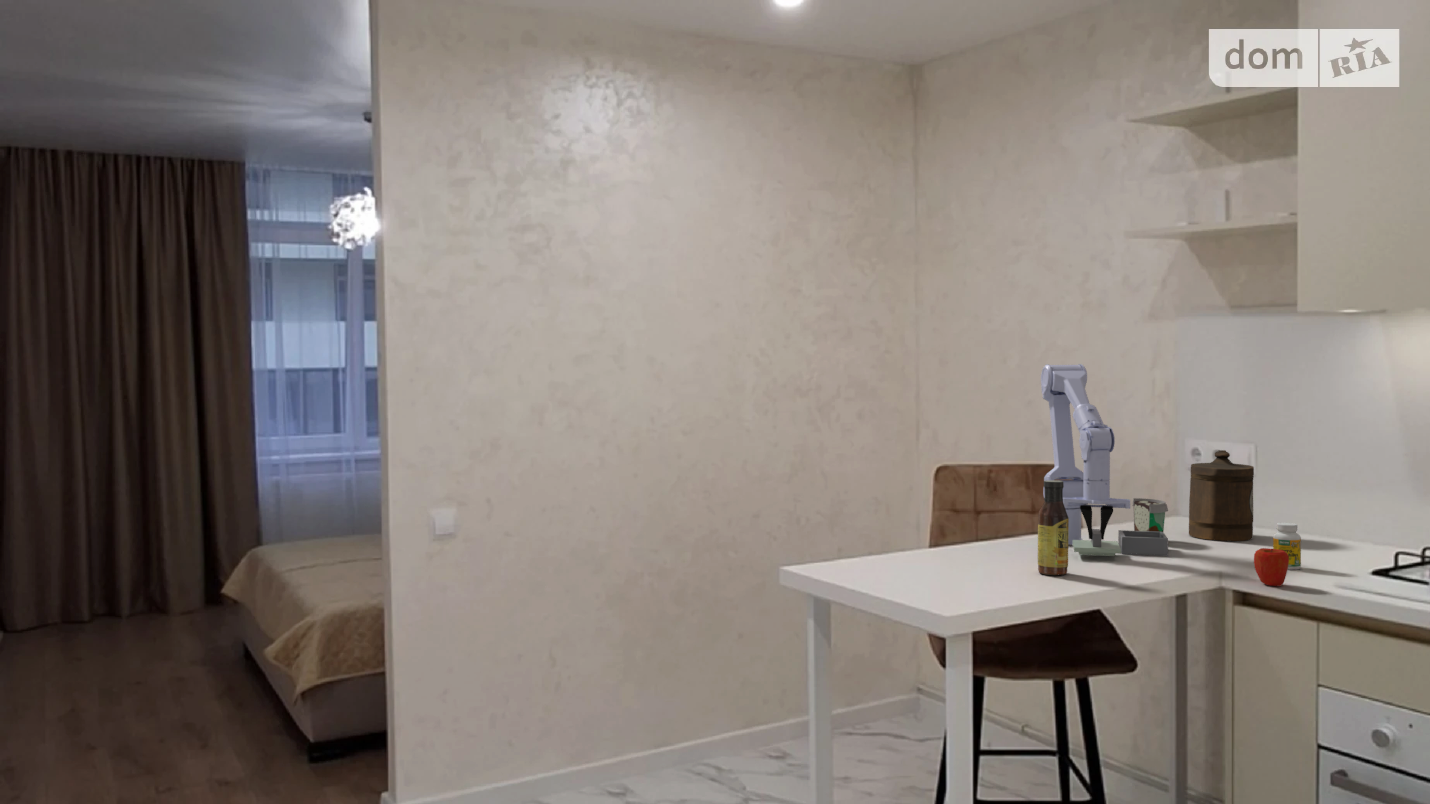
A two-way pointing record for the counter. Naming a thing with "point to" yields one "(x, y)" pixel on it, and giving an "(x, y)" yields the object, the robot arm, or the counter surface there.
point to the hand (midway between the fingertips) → (1096, 538)
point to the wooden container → (1221, 500)
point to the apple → (1271, 566)
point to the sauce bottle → (1053, 531)
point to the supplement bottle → (1289, 543)
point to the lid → (1096, 546)
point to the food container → (1149, 514)
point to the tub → (1143, 542)
